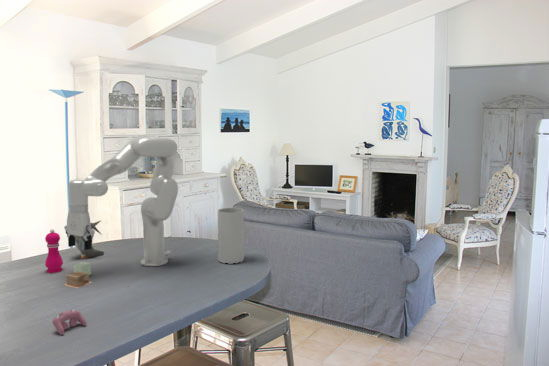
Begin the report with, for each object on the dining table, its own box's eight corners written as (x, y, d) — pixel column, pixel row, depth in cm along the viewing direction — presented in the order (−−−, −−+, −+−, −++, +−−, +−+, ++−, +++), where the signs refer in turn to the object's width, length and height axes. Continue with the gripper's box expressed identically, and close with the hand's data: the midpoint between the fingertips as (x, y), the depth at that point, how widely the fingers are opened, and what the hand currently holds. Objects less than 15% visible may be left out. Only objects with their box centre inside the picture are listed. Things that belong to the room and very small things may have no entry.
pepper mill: (56, 275, 221) (54, 231, 218) (42, 274, 222) (39, 230, 219) (66, 270, 228) (64, 227, 225) (52, 269, 229) (50, 227, 226)
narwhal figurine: (66, 257, 249) (65, 221, 246) (97, 251, 259) (95, 217, 257) (78, 263, 238) (76, 226, 236) (108, 257, 249) (107, 221, 246)
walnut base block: (78, 280, 212) (78, 271, 211) (88, 282, 209) (88, 273, 209) (67, 284, 207) (66, 275, 206) (77, 286, 204) (76, 277, 203)
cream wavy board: (84, 273, 224) (84, 271, 224) (108, 279, 217) (108, 276, 217) (51, 285, 209) (51, 282, 209) (77, 291, 202) (76, 288, 202)
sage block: (83, 272, 222) (82, 261, 221) (91, 274, 220) (90, 263, 219) (73, 276, 217) (73, 264, 217) (82, 277, 215) (81, 266, 214)
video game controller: (81, 327, 172) (75, 307, 173) (88, 324, 170) (82, 304, 171) (55, 337, 164) (48, 317, 165) (62, 335, 162) (55, 314, 163)
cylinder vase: (248, 261, 243) (248, 211, 240) (225, 265, 236) (225, 213, 233) (235, 255, 253) (235, 206, 250) (213, 259, 247) (213, 209, 243)
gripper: (57, 207, 215) (58, 246, 217) (86, 212, 207) (87, 252, 209) (71, 205, 221) (72, 243, 224) (100, 209, 214) (100, 248, 216)
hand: (79, 247), depth 216 cm, fingers open, 9 cm apart
